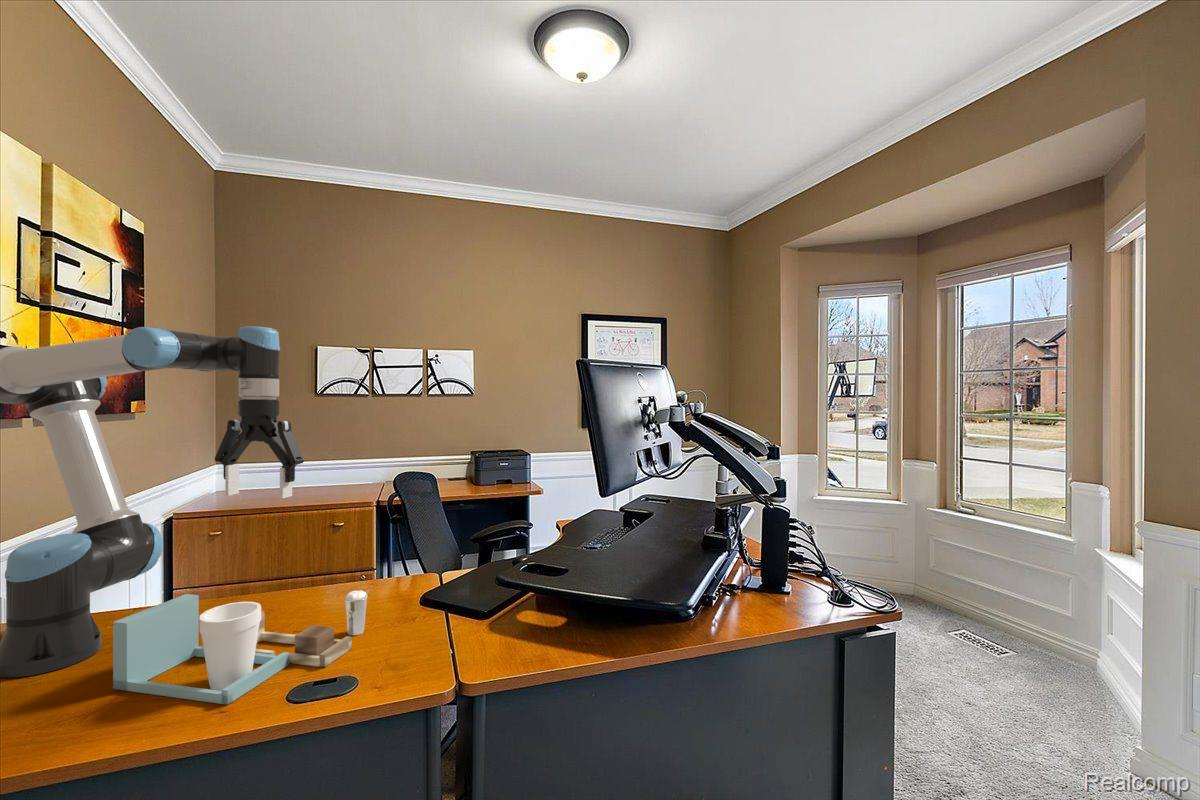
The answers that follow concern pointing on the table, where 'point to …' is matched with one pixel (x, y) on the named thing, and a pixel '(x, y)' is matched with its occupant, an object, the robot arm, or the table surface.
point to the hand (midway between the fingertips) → (258, 495)
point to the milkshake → (356, 611)
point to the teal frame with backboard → (174, 653)
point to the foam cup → (229, 641)
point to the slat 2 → (323, 654)
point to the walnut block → (314, 640)
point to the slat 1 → (271, 636)
